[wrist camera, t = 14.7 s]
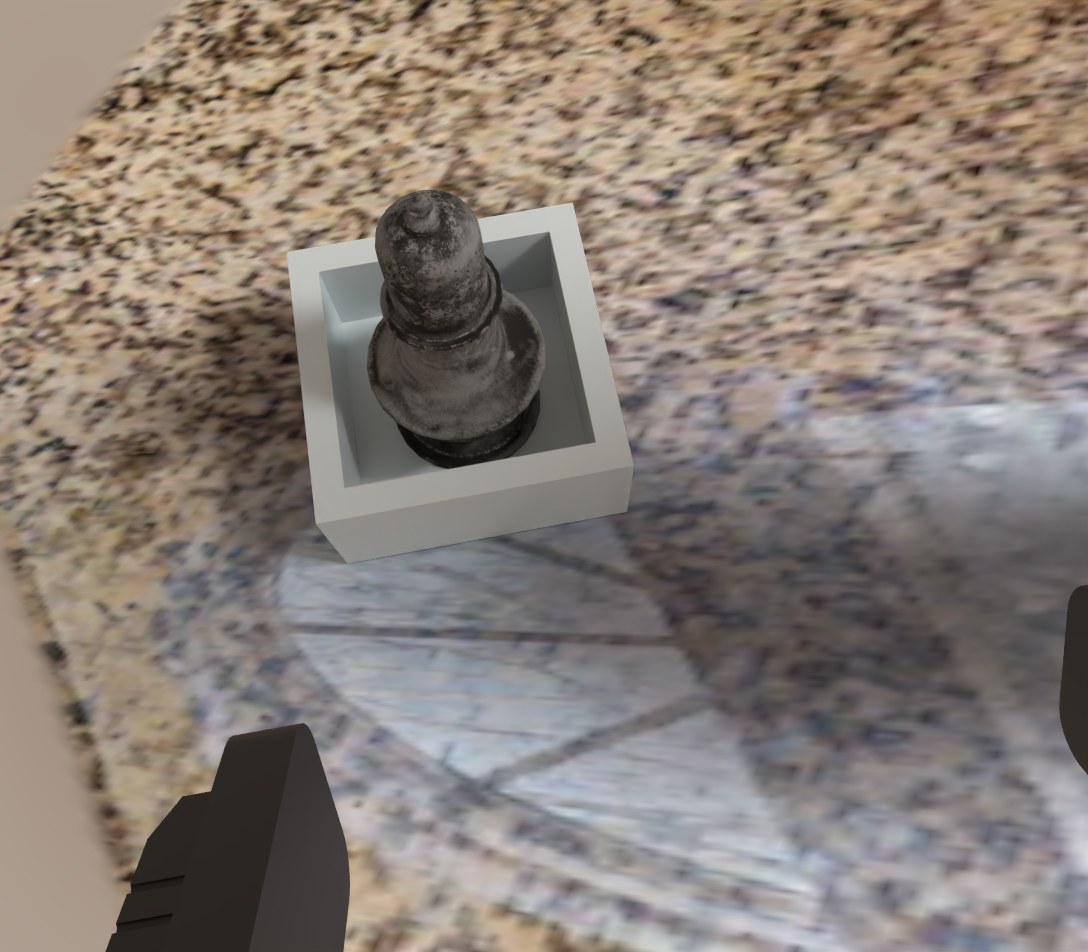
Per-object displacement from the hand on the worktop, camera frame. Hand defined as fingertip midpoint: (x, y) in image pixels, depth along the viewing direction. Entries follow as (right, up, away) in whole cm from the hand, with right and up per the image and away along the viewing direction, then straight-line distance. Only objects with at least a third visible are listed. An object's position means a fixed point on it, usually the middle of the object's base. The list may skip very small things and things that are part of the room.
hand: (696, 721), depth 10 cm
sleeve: (-4, +5, +26) cm, 27 cm away
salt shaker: (-4, +5, +25) cm, 26 cm away
